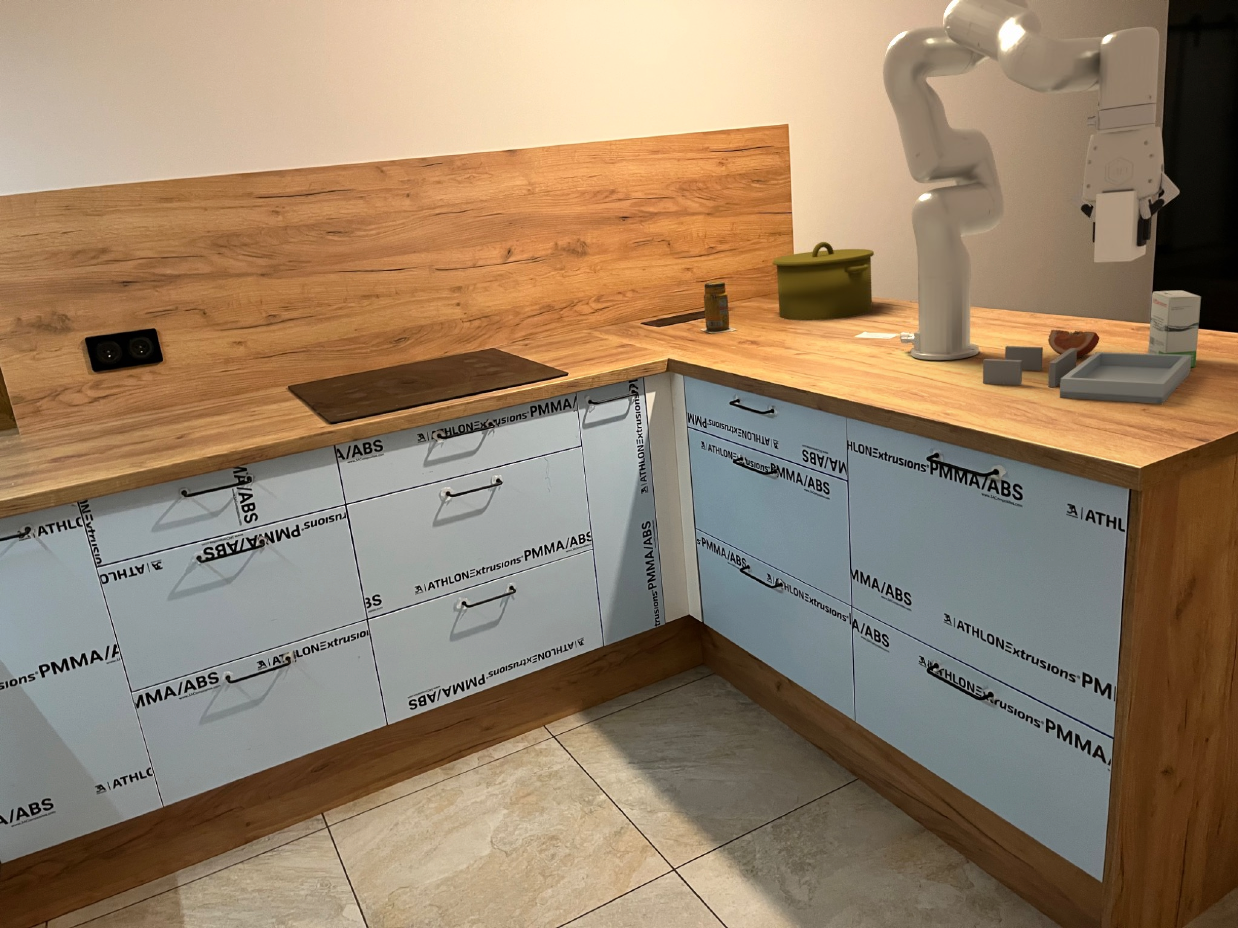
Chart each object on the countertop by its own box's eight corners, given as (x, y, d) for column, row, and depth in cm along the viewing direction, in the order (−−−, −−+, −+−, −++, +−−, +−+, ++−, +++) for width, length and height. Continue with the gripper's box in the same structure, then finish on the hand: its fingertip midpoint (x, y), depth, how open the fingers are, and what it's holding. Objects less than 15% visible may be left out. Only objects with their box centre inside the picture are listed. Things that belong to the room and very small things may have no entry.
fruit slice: (1040, 358, 169) (1041, 331, 168) (1062, 351, 173) (1063, 325, 171) (1084, 363, 162) (1085, 335, 161) (1105, 356, 166) (1107, 328, 164)
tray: (1059, 397, 143) (1060, 378, 142) (1095, 369, 157) (1096, 352, 156) (1162, 404, 134) (1163, 384, 133) (1189, 373, 148) (1191, 355, 147)
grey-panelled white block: (1094, 262, 139) (1096, 192, 137) (1110, 255, 146) (1112, 188, 143) (1130, 261, 136) (1134, 189, 133) (1145, 254, 143) (1149, 185, 140)
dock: (983, 383, 156) (983, 360, 155) (1006, 368, 165) (1007, 346, 164) (1054, 387, 149) (1055, 363, 148) (1075, 371, 157) (1076, 348, 156)
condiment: (726, 326, 241) (723, 280, 237) (737, 330, 233) (734, 282, 229) (699, 330, 239) (696, 283, 236) (710, 334, 231) (706, 286, 228)
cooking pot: (751, 316, 252) (747, 248, 246) (824, 301, 263) (821, 236, 258) (826, 325, 226) (823, 249, 221) (902, 308, 238) (901, 235, 232)
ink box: (1197, 367, 151) (1202, 295, 148) (1164, 369, 152) (1168, 298, 149) (1177, 357, 159) (1182, 288, 156) (1146, 359, 160) (1150, 290, 157)
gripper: (1056, 129, 138) (1054, 252, 143) (1187, 112, 127) (1179, 246, 132) (1071, 127, 144) (1068, 246, 149) (1198, 112, 133) (1190, 240, 138)
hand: (1120, 245), depth 141 cm, fingers closed on grey-panelled white block, 5 cm apart
